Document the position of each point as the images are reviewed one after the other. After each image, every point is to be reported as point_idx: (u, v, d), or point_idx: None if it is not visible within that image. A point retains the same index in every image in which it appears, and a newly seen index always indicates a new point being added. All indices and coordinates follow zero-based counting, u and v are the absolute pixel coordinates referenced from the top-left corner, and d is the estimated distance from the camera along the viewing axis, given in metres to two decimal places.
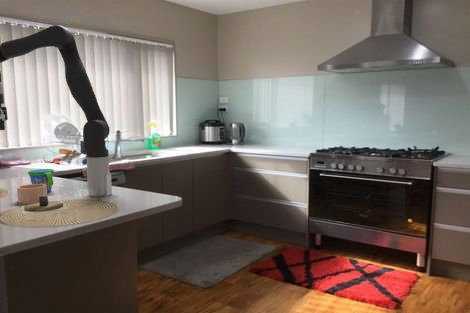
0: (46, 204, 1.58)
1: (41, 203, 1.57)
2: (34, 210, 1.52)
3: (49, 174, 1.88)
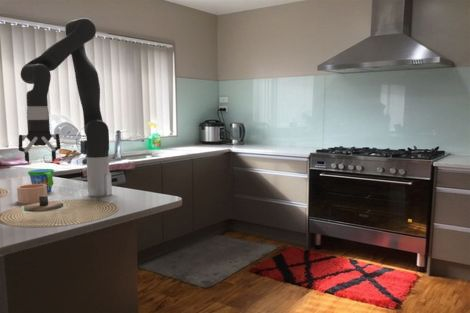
0: (46, 204, 1.58)
1: (41, 203, 1.57)
2: (34, 210, 1.52)
3: (49, 174, 1.88)
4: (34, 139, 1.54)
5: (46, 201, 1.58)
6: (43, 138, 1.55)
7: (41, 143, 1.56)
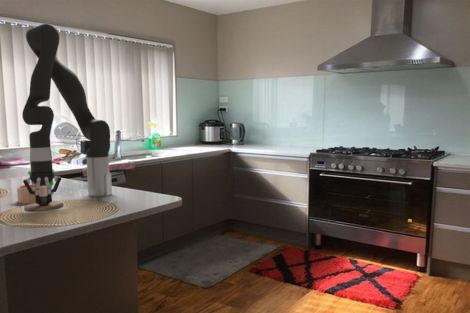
0: (46, 204, 1.58)
1: (41, 203, 1.57)
2: (34, 210, 1.52)
3: None
4: (38, 180, 1.55)
5: (46, 201, 1.58)
6: (46, 178, 1.57)
7: (44, 183, 1.57)
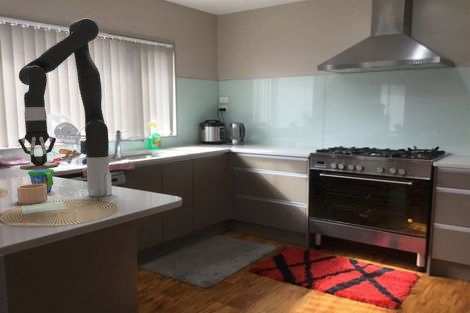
0: (41, 164, 1.60)
1: (36, 163, 1.59)
2: (30, 168, 1.54)
3: (49, 174, 1.88)
4: (33, 140, 1.57)
5: (41, 161, 1.60)
6: (41, 138, 1.58)
7: (39, 143, 1.59)
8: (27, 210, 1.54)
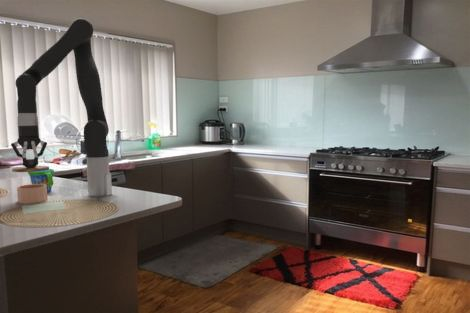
0: (33, 167, 1.69)
1: (28, 165, 1.69)
2: (21, 171, 1.63)
3: (49, 174, 1.88)
4: (25, 144, 1.67)
5: (33, 164, 1.69)
6: (32, 142, 1.68)
7: (31, 147, 1.68)
8: (27, 210, 1.54)
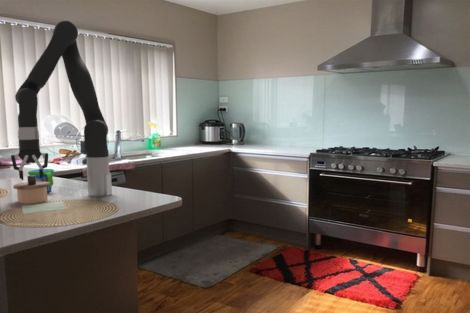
0: (34, 183, 1.70)
1: (29, 182, 1.69)
2: (22, 188, 1.64)
3: (49, 174, 1.88)
4: (25, 157, 1.67)
5: (34, 180, 1.70)
6: (33, 156, 1.68)
7: (31, 161, 1.69)
8: (27, 210, 1.54)
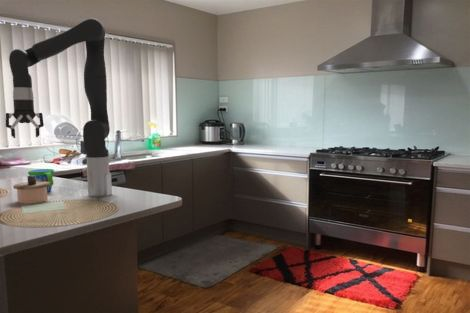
0: (34, 183, 1.70)
1: (29, 182, 1.69)
2: (22, 188, 1.64)
3: (49, 174, 1.88)
4: (20, 117, 1.72)
5: (34, 180, 1.70)
6: (28, 116, 1.74)
7: (26, 121, 1.74)
8: (27, 210, 1.54)
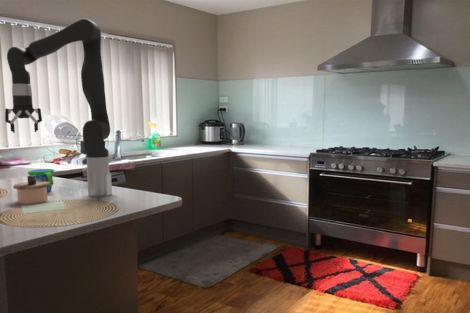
0: (34, 183, 1.70)
1: (29, 182, 1.69)
2: (22, 188, 1.64)
3: (49, 174, 1.88)
4: (18, 112, 1.78)
5: (34, 180, 1.70)
6: (26, 111, 1.80)
7: (25, 116, 1.80)
8: (27, 210, 1.54)
